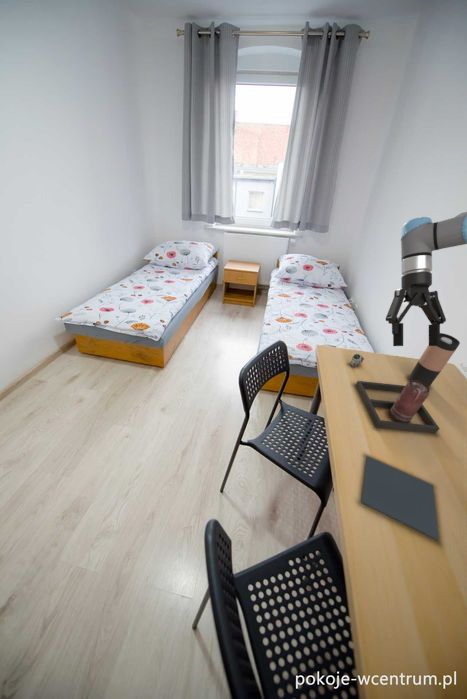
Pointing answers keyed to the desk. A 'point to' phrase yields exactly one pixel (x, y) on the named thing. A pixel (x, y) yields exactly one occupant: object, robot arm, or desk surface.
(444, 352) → the travel mug
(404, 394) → the can
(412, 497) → the mat
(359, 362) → the wristwatch
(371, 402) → the frame
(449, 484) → the desk surface
